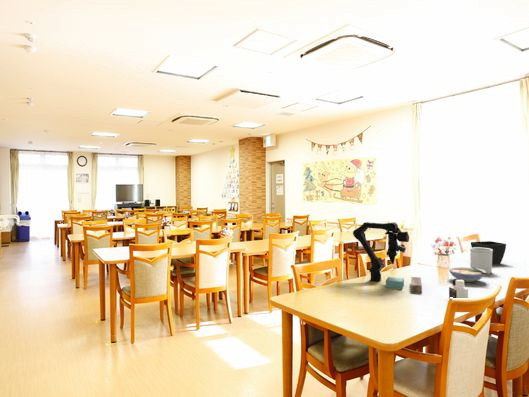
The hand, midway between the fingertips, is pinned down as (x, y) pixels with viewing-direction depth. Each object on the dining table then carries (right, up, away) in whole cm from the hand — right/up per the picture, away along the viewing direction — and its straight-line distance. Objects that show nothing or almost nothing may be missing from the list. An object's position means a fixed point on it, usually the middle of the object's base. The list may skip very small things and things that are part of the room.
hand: (392, 263), depth 249 cm
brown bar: (+10, -14, -14) cm, 22 cm away
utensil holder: (+76, -11, +26) cm, 81 cm away
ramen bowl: (+51, -12, +1) cm, 53 cm away
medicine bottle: (+24, -14, -40) cm, 48 cm away
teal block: (-2, -14, -9) cm, 16 cm away
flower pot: (+100, -10, +58) cm, 116 cm away
